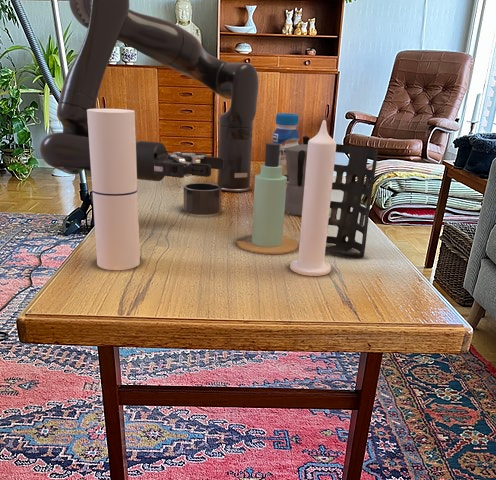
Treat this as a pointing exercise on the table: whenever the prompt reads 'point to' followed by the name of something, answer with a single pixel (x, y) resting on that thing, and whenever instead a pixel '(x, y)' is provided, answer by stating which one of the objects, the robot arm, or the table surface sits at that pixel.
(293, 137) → the beverage bottle
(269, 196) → the bottle
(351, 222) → the holder
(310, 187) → the candle
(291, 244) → the coaster
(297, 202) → the coffeepot
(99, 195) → the cylindrical container
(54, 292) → the table surface
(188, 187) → the bottle holder
